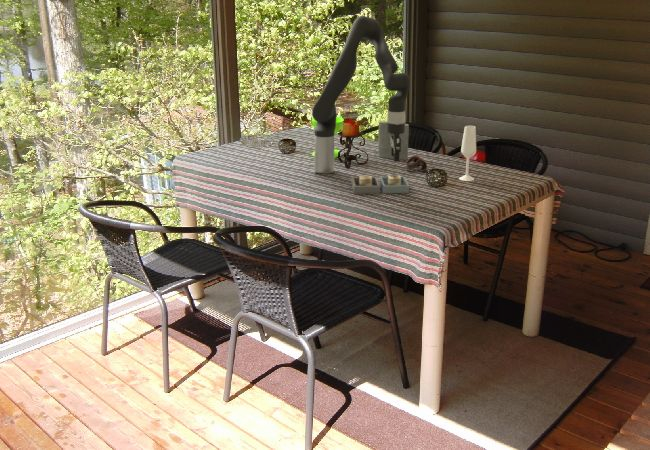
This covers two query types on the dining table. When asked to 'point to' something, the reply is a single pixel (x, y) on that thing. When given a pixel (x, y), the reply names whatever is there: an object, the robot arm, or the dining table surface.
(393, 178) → the letter cube
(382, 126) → the hip flask
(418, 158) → the pottery mug
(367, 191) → the charcoal bin
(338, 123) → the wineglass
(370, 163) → the dining table surface
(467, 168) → the champagne flute
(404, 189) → the slate bin
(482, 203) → the dining table surface
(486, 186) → the dining table surface
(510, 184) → the dining table surface
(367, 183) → the blank cube
